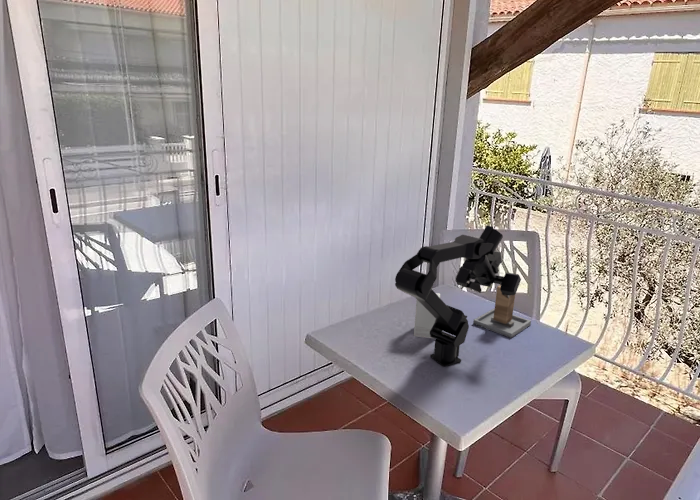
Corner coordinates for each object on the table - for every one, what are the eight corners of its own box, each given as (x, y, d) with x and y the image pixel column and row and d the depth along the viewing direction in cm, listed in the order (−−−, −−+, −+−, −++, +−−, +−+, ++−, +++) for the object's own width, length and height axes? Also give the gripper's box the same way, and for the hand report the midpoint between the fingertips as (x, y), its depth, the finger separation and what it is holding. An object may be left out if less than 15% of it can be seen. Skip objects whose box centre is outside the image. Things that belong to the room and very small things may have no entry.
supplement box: (437, 339, 151) (440, 302, 147) (413, 336, 152) (415, 299, 149) (437, 328, 158) (440, 292, 154) (415, 326, 159) (417, 290, 156)
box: (511, 338, 153) (511, 333, 152) (473, 323, 162) (473, 319, 161) (530, 324, 162) (531, 320, 162) (493, 312, 171) (494, 308, 171)
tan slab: (508, 328, 158) (513, 291, 154) (489, 321, 163) (493, 285, 159) (515, 324, 161) (520, 287, 157) (495, 317, 166) (500, 282, 162)
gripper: (520, 247, 138) (532, 277, 149) (461, 240, 150) (475, 268, 161) (507, 280, 134) (520, 308, 144) (447, 270, 146) (463, 296, 156)
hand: (494, 294), depth 152 cm, fingers open, 9 cm apart
